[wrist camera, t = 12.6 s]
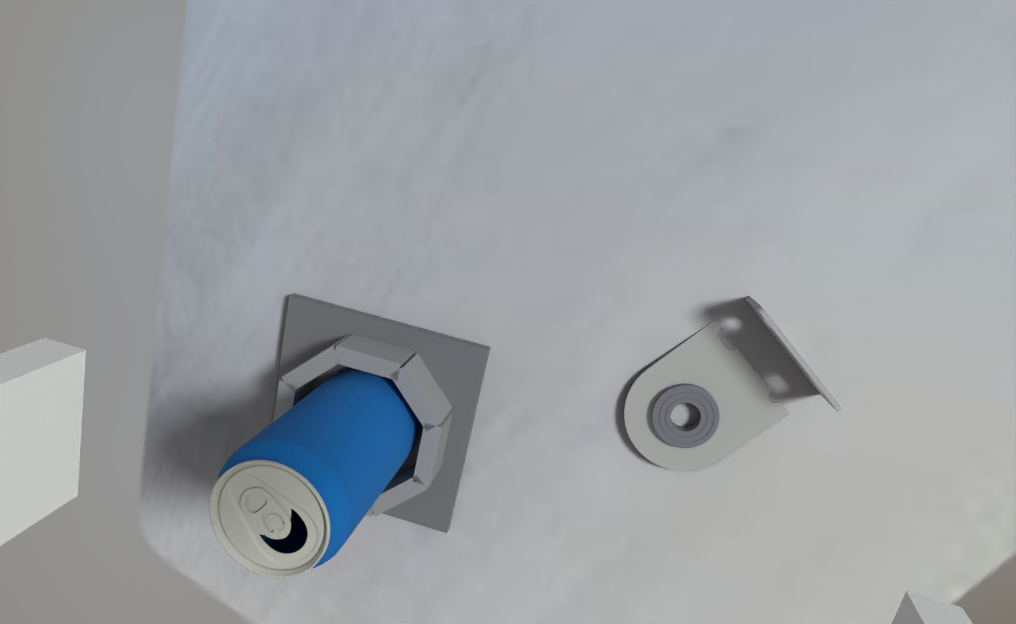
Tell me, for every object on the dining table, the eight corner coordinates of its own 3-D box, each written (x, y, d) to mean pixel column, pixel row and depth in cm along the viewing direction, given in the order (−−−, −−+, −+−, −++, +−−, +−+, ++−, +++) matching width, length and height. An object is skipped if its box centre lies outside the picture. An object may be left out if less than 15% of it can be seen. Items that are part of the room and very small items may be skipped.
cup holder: (294, 293, 43) (268, 305, 40) (490, 347, 41) (478, 363, 38) (268, 472, 46) (243, 495, 43) (449, 527, 44) (435, 555, 42)
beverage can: (368, 486, 44) (269, 611, 33) (297, 405, 44) (172, 504, 32) (444, 427, 42) (368, 538, 31) (371, 342, 42) (266, 423, 30)
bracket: (600, 397, 41) (597, 421, 38) (752, 291, 38) (762, 306, 35) (672, 485, 42) (674, 515, 38) (826, 386, 39) (843, 410, 35)
